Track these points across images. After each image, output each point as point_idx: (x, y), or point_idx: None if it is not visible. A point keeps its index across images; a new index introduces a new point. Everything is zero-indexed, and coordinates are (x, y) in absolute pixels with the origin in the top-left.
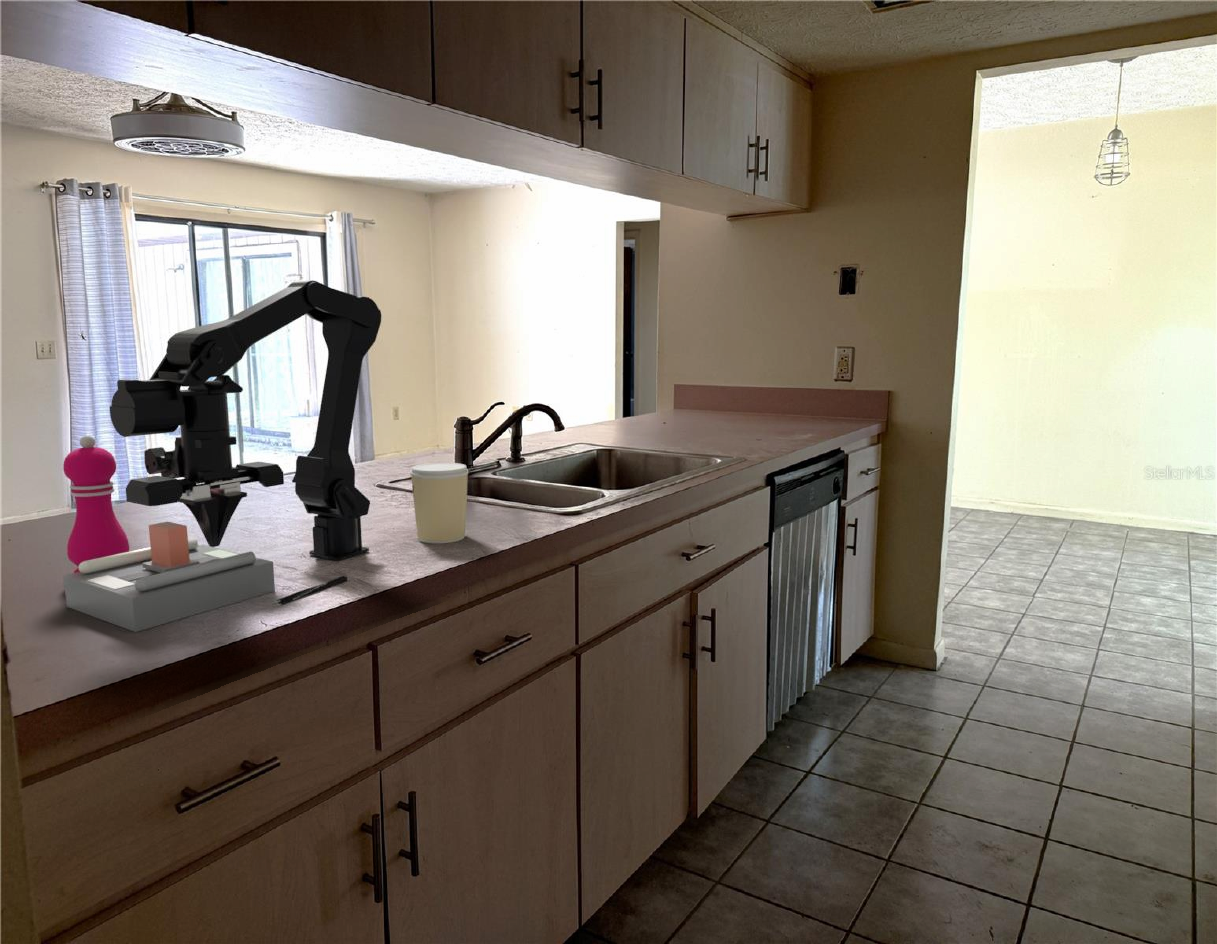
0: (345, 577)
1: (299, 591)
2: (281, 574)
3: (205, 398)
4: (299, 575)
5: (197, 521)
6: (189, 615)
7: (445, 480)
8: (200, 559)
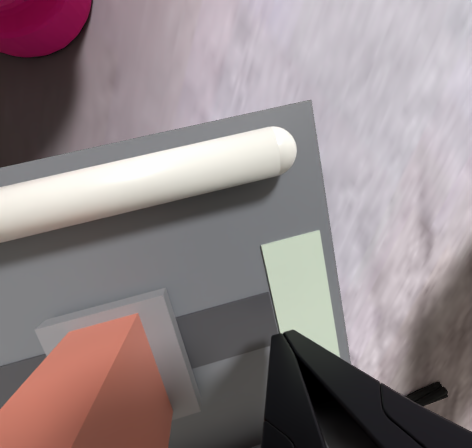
0: (443, 398)
1: None
2: (388, 273)
3: None
4: (407, 304)
5: (263, 435)
6: None
7: None
8: (229, 318)
